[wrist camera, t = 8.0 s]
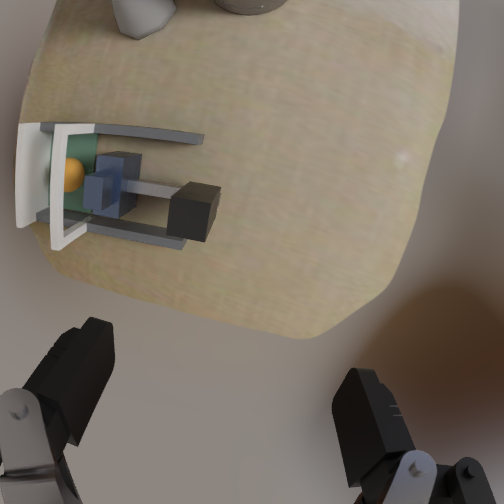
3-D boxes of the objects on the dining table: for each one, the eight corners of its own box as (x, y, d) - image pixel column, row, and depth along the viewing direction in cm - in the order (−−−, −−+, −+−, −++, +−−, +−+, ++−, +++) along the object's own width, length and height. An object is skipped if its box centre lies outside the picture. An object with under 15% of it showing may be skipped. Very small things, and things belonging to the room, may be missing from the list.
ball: (64, 161, 26) (92, 158, 29) (48, 157, 27) (74, 154, 30) (62, 198, 27) (90, 192, 30) (46, 191, 28) (72, 186, 32)
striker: (118, 151, 30) (65, 162, 20) (227, 167, 31) (214, 183, 21) (112, 202, 32) (63, 232, 22) (217, 221, 33) (202, 260, 23)
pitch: (48, 121, 28) (1, 125, 20) (204, 134, 30) (185, 134, 21) (43, 213, 32) (1, 235, 24) (187, 240, 34) (166, 275, 26)
